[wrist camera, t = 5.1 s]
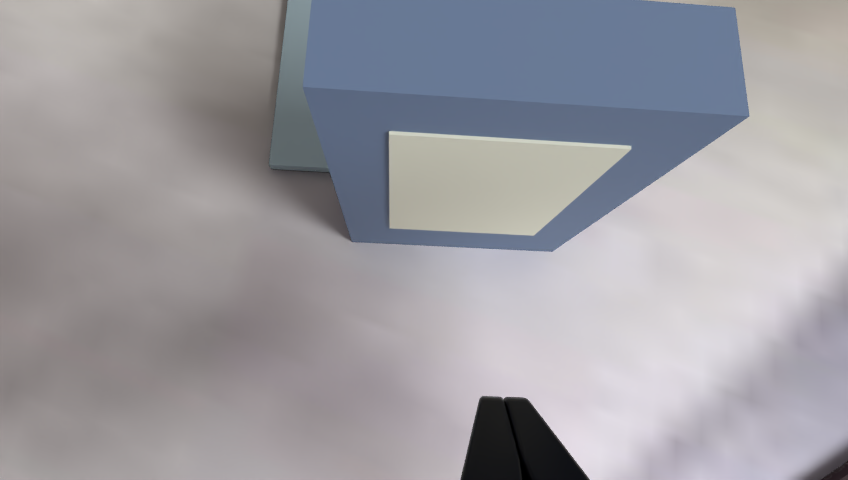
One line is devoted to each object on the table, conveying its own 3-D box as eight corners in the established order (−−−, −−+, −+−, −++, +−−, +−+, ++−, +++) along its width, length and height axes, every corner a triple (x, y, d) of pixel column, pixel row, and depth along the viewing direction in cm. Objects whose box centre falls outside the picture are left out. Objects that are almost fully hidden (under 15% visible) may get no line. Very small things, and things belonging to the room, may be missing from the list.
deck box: (552, 253, 18) (749, 120, 8) (351, 243, 17) (302, 90, 8) (550, 197, 18) (735, 7, 8) (355, 186, 18) (314, -25, 8)
